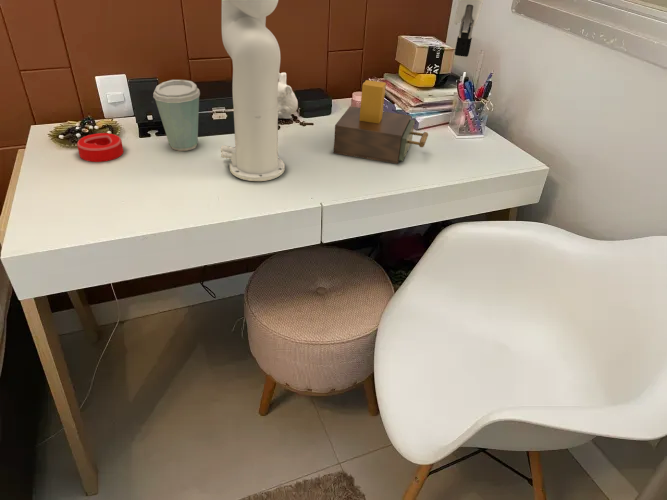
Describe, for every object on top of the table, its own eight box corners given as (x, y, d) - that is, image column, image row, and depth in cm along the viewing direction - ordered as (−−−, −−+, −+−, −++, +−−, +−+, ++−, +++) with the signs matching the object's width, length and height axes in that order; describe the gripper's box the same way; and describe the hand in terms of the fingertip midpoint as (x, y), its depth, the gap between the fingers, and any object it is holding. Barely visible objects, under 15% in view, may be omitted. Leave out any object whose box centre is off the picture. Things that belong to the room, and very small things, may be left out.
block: (359, 120, 131) (362, 84, 126) (362, 115, 134) (366, 79, 129) (378, 123, 130) (382, 87, 125) (382, 118, 133) (386, 82, 128)
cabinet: (407, 142, 140) (411, 115, 136) (397, 164, 129) (401, 135, 125) (347, 132, 144) (349, 106, 139) (333, 153, 132) (335, 124, 128)
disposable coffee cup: (195, 157, 126) (189, 95, 117) (152, 152, 127) (143, 90, 118) (211, 140, 134) (206, 81, 126) (170, 135, 135) (163, 76, 127)
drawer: (427, 143, 138) (431, 122, 135) (420, 163, 128) (423, 141, 125) (355, 131, 142) (357, 111, 139) (342, 150, 132) (344, 128, 128)
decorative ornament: (126, 144, 129) (124, 132, 128) (119, 161, 122) (117, 148, 120) (85, 144, 128) (82, 132, 126) (75, 162, 120) (72, 149, 118)
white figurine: (268, 112, 152) (268, 70, 146) (290, 110, 155) (290, 69, 148) (277, 123, 146) (277, 80, 139) (300, 121, 149) (301, 78, 142)
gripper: (463, -37, 121) (448, 46, 131) (457, -30, 109) (441, 60, 119) (496, -34, 120) (479, 50, 130) (494, -27, 108) (475, 65, 118)
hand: (461, 55), depth 125 cm, fingers closed
